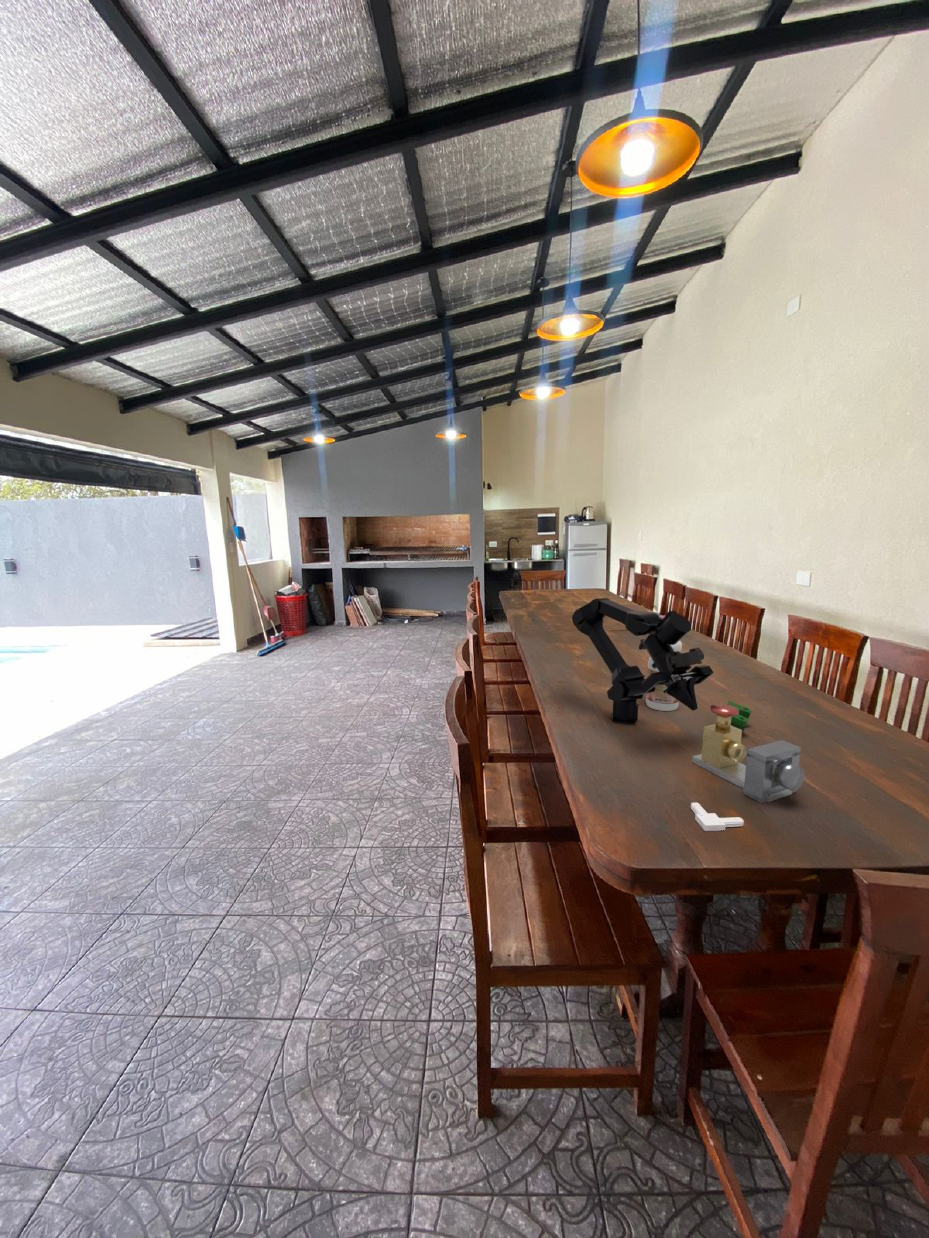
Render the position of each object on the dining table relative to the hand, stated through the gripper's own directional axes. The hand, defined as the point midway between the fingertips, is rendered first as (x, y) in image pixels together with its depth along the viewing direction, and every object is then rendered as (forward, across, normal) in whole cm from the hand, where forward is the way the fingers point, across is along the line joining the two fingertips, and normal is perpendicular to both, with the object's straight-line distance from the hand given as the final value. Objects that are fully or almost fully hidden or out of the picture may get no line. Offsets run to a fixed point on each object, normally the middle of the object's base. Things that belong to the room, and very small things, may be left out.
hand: (695, 709), depth 120 cm
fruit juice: (-12, +18, +28) cm, 35 cm away
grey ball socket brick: (+18, 0, -2) cm, 18 cm away
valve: (+13, 0, +1) cm, 13 cm away
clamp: (+3, +22, +13) cm, 26 cm away
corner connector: (+24, -18, -7) cm, 31 cm away
